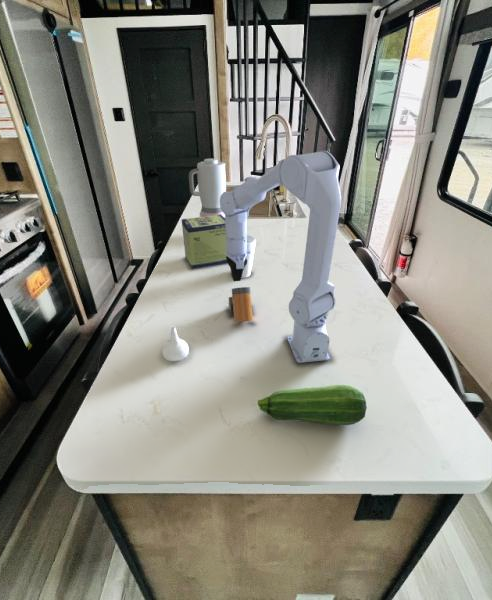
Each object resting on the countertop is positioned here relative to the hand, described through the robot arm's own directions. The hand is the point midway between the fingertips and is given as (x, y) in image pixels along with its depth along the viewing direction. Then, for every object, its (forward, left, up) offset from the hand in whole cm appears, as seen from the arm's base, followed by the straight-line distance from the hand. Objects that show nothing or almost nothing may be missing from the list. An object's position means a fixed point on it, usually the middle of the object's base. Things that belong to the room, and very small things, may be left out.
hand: (236, 280), depth 94 cm
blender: (+53, +4, -7) cm, 54 cm away
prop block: (-6, 0, -7) cm, 9 cm away
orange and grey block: (-11, 0, -7) cm, 13 cm away
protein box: (+30, +7, -7) cm, 32 cm away
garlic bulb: (-22, +18, -7) cm, 29 cm away
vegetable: (-44, -8, -7) cm, 45 cm away
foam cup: (+17, -4, -7) cm, 19 cm away
